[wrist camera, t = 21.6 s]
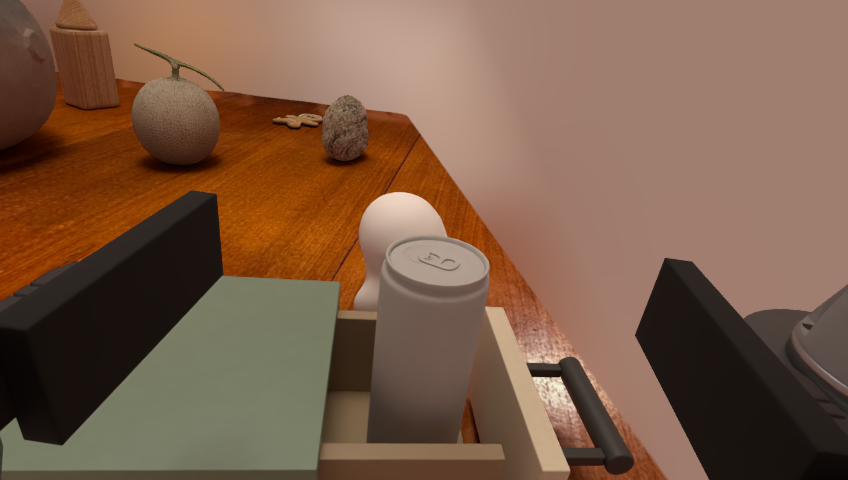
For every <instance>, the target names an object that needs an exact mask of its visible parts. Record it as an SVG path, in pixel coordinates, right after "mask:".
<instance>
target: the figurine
mask: <svg viewBox="0 0 848 480" xmlns="http://www.w3.org/2000/svg"><path fill="white" fill-rule="evenodd" d="M416 235H437V236H444V237H447V234H446V231H445V228H444V225H443V223H442V220H441V218H440V216H439V215H438V213H437V212H436V211H435V210H434V208H433V207H432V206H431V205H430V204H429V203H428V202H427V201H425V200H424V199H422V198H421V197H418V196H416V195H413V194H409V193H403V192H394V193H389V194H386V195H383V196H381V197H379V198H377V199H376V200H374V201H373V202H372V203H371V204H370V205H369V207H368V208H367V209H366V211H365V212H364V214H363V217H362V219H361V223H360V228H359V244H360V247H361V250H362V253H363V256H364V259H365V263H366V280H365V282H364V284H363V286H362V287H361V289H360V290H359V292H358V293H357V295H356V297H355V300H354V309H355V311H368V312H377V309H378V298H379V286H380V274H381V268H382V264H383V261H384V259H385V254H386V251H387V248H388V247H389V246H390V245H391V244H392V243H393V242H395V241H397V240H399V239H401V238H405V237H409V236H416Z"/></svg>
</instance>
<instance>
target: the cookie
mask: <svg viewBox="0 0 848 480" xmlns="http://www.w3.org/2000/svg"><path fill="white" fill-rule="evenodd" d="M322 121H323V119H322V117H320V116H317V115H312V114H301V115H299V117H296V116H292V115H287V116H285V118H280V117H279V118H274V119H272V122H274V123H279V124H287V125H288V127H290V128H299V127H300V124H303V125H308V126H318V123H320V122H322Z"/></svg>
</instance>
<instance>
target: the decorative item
mask: <svg viewBox="0 0 848 480" xmlns="http://www.w3.org/2000/svg"><path fill="white" fill-rule="evenodd" d="M97 28H98V27H97V24H96V23H95V21H94V20H93V18H92V17H91V16H90V14H89V13H88V11H87V10H86V8H85V7H84V5H83V4H82V3H81V1H80V0H64V1H63V4H62V7H61V10H60V12H59V15H58V17H57V20H56V26H52V27H50V34H51V38H52V43H53V47H54V52H55V57H56V62H57V66H58V71H59V76H60V80H61V85H62V89H63V94H64V99H65V101H66V103H68V104H71V105H74V106H76V107H79V108H82V109H85V110H87V109H97V108H107V107H116V106H118V105H119V98H118V92H117V86H116V80H115V74H114V68H113V63H112V56H111V50H110V44H109V38H108V34H107V32H105V31H102V30H97Z"/></svg>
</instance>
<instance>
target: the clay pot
mask: <svg viewBox="0 0 848 480" xmlns="http://www.w3.org/2000/svg"><path fill="white" fill-rule="evenodd" d="M56 93H57V82H56V74H55V65H54V61H53V56H52V52H51V49H50V47H49V44H48V41H47V39H46V37H45V35H44V33H43V31H42V29H41V28H40V26H39V24H38V22H37V21H36V19H35V18H34V17H33V15H32V14H31V13H30V12H29V10H28V9H27V8H26V6H25V5H24V4H23V3H22V2H21V1H20V0H0V150H3V149H5V148H8V147H11V146H13V145H16V144H18V143H20V142H22V141H23V140H25V139H27V138H28V137H30V136H31V135H32V134H34V133H35V132H36V131H38V130H39V129H40V128H41V127H42V125H43V124H44V123H45V122H46V121H47V119H48V118H49V116H50V114H51V112H52V110H53V107H54V104H55V100H56Z"/></svg>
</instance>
